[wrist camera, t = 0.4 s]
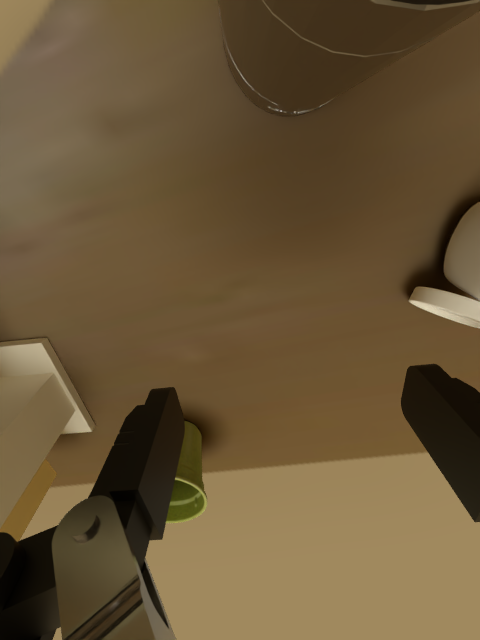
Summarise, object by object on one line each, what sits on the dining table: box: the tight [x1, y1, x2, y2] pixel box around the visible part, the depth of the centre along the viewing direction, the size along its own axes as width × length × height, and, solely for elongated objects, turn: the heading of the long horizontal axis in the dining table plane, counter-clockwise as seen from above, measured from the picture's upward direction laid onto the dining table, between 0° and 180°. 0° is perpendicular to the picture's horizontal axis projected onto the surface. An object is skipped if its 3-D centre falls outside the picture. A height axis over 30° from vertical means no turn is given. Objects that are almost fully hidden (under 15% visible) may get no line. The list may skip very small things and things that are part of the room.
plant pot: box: [166, 421, 207, 523], centre depth 34 cm, size 9×9×9 cm
